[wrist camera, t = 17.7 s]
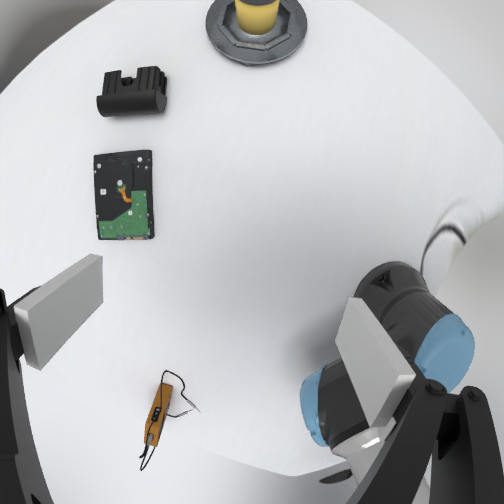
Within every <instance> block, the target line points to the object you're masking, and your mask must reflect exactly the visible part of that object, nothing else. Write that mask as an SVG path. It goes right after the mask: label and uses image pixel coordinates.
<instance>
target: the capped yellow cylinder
mask: <svg viewBox="0 0 504 504" xmlns="http://www.w3.org/2000/svg"><path fill="white" fill-rule="evenodd" d="M235 5H236V14H237V22H238V26H239V27H240V29H241V30H242V31H244V32H245V33H248V34H250V35H263V34H266V33H268V32H270V31H271V30H272V29H273V28H274V26H275V23H276V18H277V12H278V6H279V0H235Z"/></svg>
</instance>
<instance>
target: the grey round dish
mask: <svg viewBox="0 0 504 504" xmlns="http://www.w3.org/2000/svg"><path fill="white" fill-rule="evenodd" d="M206 30H207V33H208V36H209V39H210V40H211V42H212V44H213V45H214V46H215V47H216V48H217V49H218V50H219V51H220V52H221V53H222V54H224V55H226V56H227V57H229V58H231V59H234V60H236V61H240V62H241V63H242V64H244V65H246V66H254V65H256V64H263V63H270V62H274V61H277V60H280V59H283V58H285V57H287V56H288V55H290V54H291V53H293V52H294V51H295V50H296V49H297V48H298V47H299V46H300V44H301V43H302V41H303V39H304V37H305V34H306V31H307V18H306V14H305V12H304V9H303V8H302V6H301V5H300V3H299V2H298V1H297V0H279V6H278V12H277V18H276V23H275V26H274V28H273V29H272V30H271V31H270V32H268V33H266V34H263V35H250V34H248V33H245V32H244V31H242V30H241V29H240V27H239V26H238V22H237V14H236V5H235V0H215V1H214V3H213V4H212V5H211V7H210V9H209V10H208V13H207V16H206Z"/></svg>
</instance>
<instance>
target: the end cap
mask: <svg viewBox="0 0 504 504" xmlns="http://www.w3.org/2000/svg"><path fill="white" fill-rule="evenodd" d="M121 72H122V71H121V70H118V71H112V72H106V73H105V75H104V83H103V91H102V95H100V96H97V108H98V111H99V113H100V114H101V115H102V116H103V117H112V116H122V115H133V114H147V113H160V112H162V111H163V110H164V108H165V105H166V100H167V97H166V96H165V95H166V85H167V77H166V76H164V75H165V73H164V72H163V71H160V68H159V67H157V66H150V67H141V68H138V69H137V77H136V78H132V77H126V78H121Z"/></svg>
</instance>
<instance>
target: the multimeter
mask: <svg viewBox="0 0 504 504" xmlns="http://www.w3.org/2000/svg"><path fill="white" fill-rule="evenodd" d="M165 372H169V373H172V372H170V371H165ZM165 372H164V373H165ZM164 373H163V375H162V379H161V384H160V386H159V389H158V391H157V394H156V397H155V399H154V402H153V405H152V407H151V410H150V413H149V415H148V418H147V421H146V424H145V437H144V443H145V444H146V445H145V450H144V453H143V454H142V455H141V456H140V457H139V458H142V457H144V459H143V461H142V464H141V467H140V470H141V471H142V470H143V469H144V468H145V466H146V465H147V463H148V461H149V460H150V458H151V456H152V454H153V452H154V449H155V447H157V445H158V442H159V439H160V435H161V432H162V429H163V425H164V422H165V419H166V416H167V412H168V409H169V405H170V399H171V393H172V388H173V387H172V386H169V385H166V384H162V380H163V376H164ZM172 374H173V375H175V376H177V375H176V374H174V373H172ZM177 377H178V378H179V379H180V380H181V381H182V383H183V386H184V388H183V390H182V392H183V391H184V389H185V385H184V382H183V380H182V379H181V378H180V377H179V376H177ZM182 392H181V395H182ZM182 396H183V395H182ZM183 397H184V396H183ZM184 398H185V397H184ZM185 399H186V398H185ZM186 400H187V399H186ZM187 402H188V403H189V404H190V405H191V406H193V407H194V408H196V406H194V405H193V404H192V403H191V402H190V401H189V400H187ZM196 409H197V408H196ZM197 410H198V409H197ZM190 411H192V410H190ZM190 411H188V412H190ZM198 411H199V410H198ZM188 412H187V411H186V412H184V413H182V414H180V415H178V416H176V417H180V416H183V415H185V414H187V413H188ZM199 412H200V411H199ZM168 416H170V415H168ZM171 417H174V416H171ZM176 417H175V418H176ZM150 445H152V446H154V449H153V451H152V453H151V455H150V457H149V459H148V461H147V463H146V464H145V466H144V467H143V469H141V468H142V465H143V462H144V460H145V457H146V454H147V451H148V449H149V446H150Z"/></svg>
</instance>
